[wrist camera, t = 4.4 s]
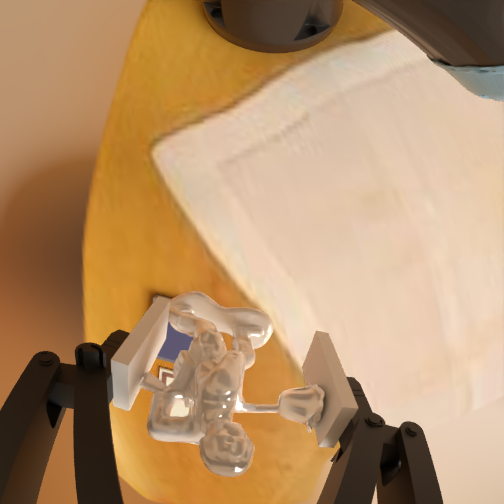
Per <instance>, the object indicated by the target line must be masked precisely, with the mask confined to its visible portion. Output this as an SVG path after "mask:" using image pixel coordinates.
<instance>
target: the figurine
mask: <svg viewBox="0 0 504 504" xmlns="http://www.w3.org/2000/svg"><path fill="white" fill-rule="evenodd" d="M168 322H170V324H171V326H172V327H173V328H174V329H175V330H177V331H179V332H181V333H186V334H187V335H189V336H192V337H193V341H192V342H191V344H190V348H189V350H181V351H180V353H179V355H178V358H177V359H176V361H175V365H174V369H173V377H174V380H173V381H172V383H171V384H169V385H168V386H166V385H165V384H164V383H163V382H161V381H160V380H159V379H158V378H156V377H155V376H154V375H153V374H151V373H149V372H146V373H145V374H144V378H143V380H142V382H141V383H140V386H141V388H143V389H145V390H148V391H151V392H153V393H154V394H153V396H152V400H151V404H150V410H149V414H148V420H147V430H148V433H149V435H150V436H151V437H152V438H154V439H156V440H159V441H165V442H188V443H198V444H199V451H200V456H201V459H202V461H203V464H204V465H205V467H206V468H207V469H208V470H210V471H211V472H213V473H215V474H217V475H220V476H226V477H235V476H239V475H242V474H243V473H245V472H246V471H247V470H248V469H249V467H250V466H251V463H252V459H253V456H254V451H255V447H254V444H253V443H252V442H251V439H250V438H248V437H247V434H246V432H245V430H244V429H243V427H242V425H241V424H239V423H236V422H232V421H233V417H234V413H235V412H238V413H241V412H243V413H245V412H249V413H276V412H277V413H278V414H279V415H280V416H281V417H283V418H285V419H288V420H291V421H295V422H298V423H301V424H303V425H305V426H306V427H307V431H308V432H310V433H311V430H310V429H312V428H316V427H317V424H316V422H318V421H319V420H320V418H321V416H320V414H321V413H320V412H321V411H322V410H323V405H324V403H323V398H324V396H325V394H324V391H323V390H322V389H321V388H320V387H319V385H316V384H313V383H311V382H310V385H309V386H307V387H302V388H293V389H287V390H284V391H283V392H281V394H280V396H279V400H278V405H274V404H250V403H246V402H245V399H244V398H243V396H242V389H243V378H244V372H245V370H246V369H248V368H250V367H251V366H252V365H253V364H254V362H255V356H256V355H255V351H254V349H256V348H259V347H261V346H263V345H264V344H265V343H266V342H267V341H268V340H269V338H270V336H271V335H272V332H273V322H272V319H271V318H270V316H269V315H268V314H266V313H265V312H263V311H261V310H258V309H254V308H225V307H222V306H221V305H219V304H217V303H216V302H215V301H214V300H212V299H211V298H210V297H208V296H207V295H206V294H204V293H202V292H199V291H189V292H185V293H182V294H180V295H178V296H176V297H174V298H173V299H172V300H171V302H170V310H169V317H168ZM220 332H225V333H228V334H230V335H231V336H233V338H234V340H233V342H232V350H231V351H227V349H226V346H225V342H224V340H223V337H222V334H221V333H220ZM180 403H184V404H185V407H187V408H189V413H188V414H187V415H186V416H170V413H171V410H172V408H173V406H174V404H180ZM308 426H309V427H310V429H309V427H308Z"/></svg>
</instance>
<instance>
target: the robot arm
mask: <svg viewBox="0 0 504 504" xmlns="http://www.w3.org/2000/svg"><path fill="white" fill-rule="evenodd" d="M352 1H354V2H355V3H357V4H359V5H360V6H362V7H364V8H365V9H367V10H368V11H370V12H371V13H373V14H374V15H376V16H377V17H379V18H380V19H382V20H383V21H385V22H386V23H388V24H389V25H391V26H392V27H393V28H395V29H396V30H397V31H399V32H400V33H401V34H403V35H404V36H405V37H407V38H408V39H409V40H410V41H412V42H413V43H414V44H415V45H416V46H418V47H419V48H420V49H421V50H422V51H423V52H425V53H426V54H427V57H428V58H429V59H430V60H431V61H432V62H433V63H434V64H436V65H437V66H439V67H441V68H443V69H445V70H446V71H447V72H448V73H449V74H450V75H452V76H453V77H454V78H455V79H456V80H457V81H458V82H459V83H460V84H461V85H462V86H463V87H465V88H466V89H467V90H468V91H470V92H471V93H473V94H475V95H477V96H479V97H482V98H486V99H493V100H495V101H504V0H352ZM202 5H203V8H204V12H205V15H206V17H207V20H208V22H209V23H210V25H211V26H212V27H213V29H214V30H215V31H216V32H217V33H218V34H219V35H221V36H222V37H223V38H225V39H226V40H228V41H230V42H231V43H233V44H236V45H238V46H240V47H243V48H246V49H250V50H254V51H258V52H266V53H288V52H295V51H299V50H303V49H306V48H309V47H311V46H314V45H316V44H318V43H319V42H321V41H322V40H324V39H325V38H326V37H327V36H328V35H329V34H330V33H331V32H332V31H333V29H334V28H335V26H336V24H337V22H338V20H339V18H340V16H341V13H342V9H343V0H202ZM170 302H171V299H167V298H164V297H160V296H158V297H157V299H156V300H155V301H154V303H153V304H152V305H151V306H150V308H149V309H148V310H147V312H146V313H145V314H144V316H143V317H142V318H141V320H140V321H139V322H138V324H137V325H136V326H135V328H134V329H133V330H132V332H131V333H128V332H125V331H122V330H117V331H115V332H113V333H111V334H110V336H109V337H108V338H107V340H105V341H104V343H103V344H102V345H101V346H100V345H98V344H96V343H83V344H80V345H78V346H77V347H76V349H75V358H76V365H71V364H65V363H60V359H59V357H58V356H57V355H56V354H55V353H53V352H48V351H43V352H39V353H37V354H35V355H34V356H33V358H32V359H31V361H30V362H29V364H28V365H27V367H26V369H25V370H24V372H23V373H22V375H21V376H20V378H19V380H18V381H17V383H16V385H15V386H14V388H13V389H12V391H11V393H10V395H9V396H8V398H7V400H6V401H5V403H4V405H3V407H2V409H1V410H0V504H36V502H37V499H38V494H39V491H40V487H41V483H42V480H43V476H44V473H45V469H46V466H47V463H48V460H49V456H50V453H51V450H52V447H53V444H54V441H55V438H56V436H57V433H58V430H59V427H60V424H61V422H62V419H63V416H64V414H65V411H66V408H72V409H74V426H73V428H74V429H73V430H74V431H73V433H74V466H75V480H76V490H77V500H78V504H124V501H123V497H122V492H121V487H120V482H119V477H118V471H117V465H116V459H115V453H114V445H113V438H112V430H111V420H110V410H109V404H110V402H111V400H112V398H113V406H115V407H118V408H121V409H123V410H126V411H129V410H130V408H131V406H132V404H133V402H134V400H135V398H136V396H137V394H138V392H139V390H140V388H141V386H140V383H141V382H142V380H143V378H144V374H145V373H146V372H149V371H150V369H151V367H152V365H153V363H154V361H155V359H156V357H157V355H158V353H159V351H160V349H161V347H162V345H163V343H164V342H165V340H166V334H167V325H168V317H169V310H170ZM302 369H303V374H304V378H305V383H306V387H307V386H309V385H310V382H311V383H313V384H316V385H319V387H320V388H321V389H322V390H323V391H324V394H325V396H324V398H323V403H324V405H323V410H322V411H321V412H320V413H321V414H320V416H321V418H320V420H319V421H318V422H316V424H317V427H316V428H315V431H316V436H317V441H318V446H319V447H333V448H334V446H335V445H336V443H337V442H338V440H339V442H340V446H341V447H340V448H339V450H338V451H337V453H336V454H335V455H334V457H333V458H332V460H331V462H333V461H334V462H333V464H332V467H331V470H330V473H329V475H328V478H327V480H326V483H325V485H324V488H323V490H322V493H321V495H320V498H319V500H318V502H317V504H371V503H372V499H373V495H374V490H375V486H376V487H377V499H378V504H443V500H442V496H441V491H440V487H439V483H438V480H437V476H436V472H435V469H434V465H433V461H432V458H431V454H430V451H429V448H428V444H427V441H426V438H425V435H424V432H423V430H422V428H421V427H420V426H419V425H418V424H416V423H414V422H410V421H409V422H404V423H402V424H401V426H400V427H399V428H397V427H392V426H388V425H385V421H384V419H383V418H382V417H381V416H379V415H378V414H375V413H373V412H372V410H371V408H370V405H369V403H368V401H367V399H366V397H365V394H364V392H363V390H362V387H361V385H360V383H359V382H358V381H357V380H356V379H355V378H353V377H346V375H345V373H344V370H343V368H342V365H341V363H340V361H339V358H338V356H337V353H336V351H335V348H334V346H333V344H332V341H331V339H330V337H329V334H328V333H325V332H319V331H316V333H315V335H314V338H313V341H312V343H311V346H310V349H309V351H308V354H307V357H306V359H305V362H304V364H303V367H302Z"/></svg>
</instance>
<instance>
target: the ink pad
mask: <svg viewBox="0 0 504 504" xmlns="http://www.w3.org/2000/svg"><path fill="white" fill-rule="evenodd" d="M158 296H160V297H164V298H167V299H171V300H172V299H173V298H169V297H166V296H162V295H158V294H156V295H155V296H154V297H153V303H154V301H155V300H156V299H157V297H158ZM220 333H221V332H220ZM192 341H193V337H192V336H189V335H187V334H186V333H181V332H179V331H177V330H175V329H174V328H173V327H172V326H171V324H170V322H168V325H167V334H166V340H165V342H164V343H163V345H162V347H161V349H160V351H159V353H158V355H157V357H156V358H158V359H161V360H165V361H168V362H172V363H175V361H176V359H177V358H178V355H179V353H180V351H181V350H189V348H190V344H191V342H192Z"/></svg>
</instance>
